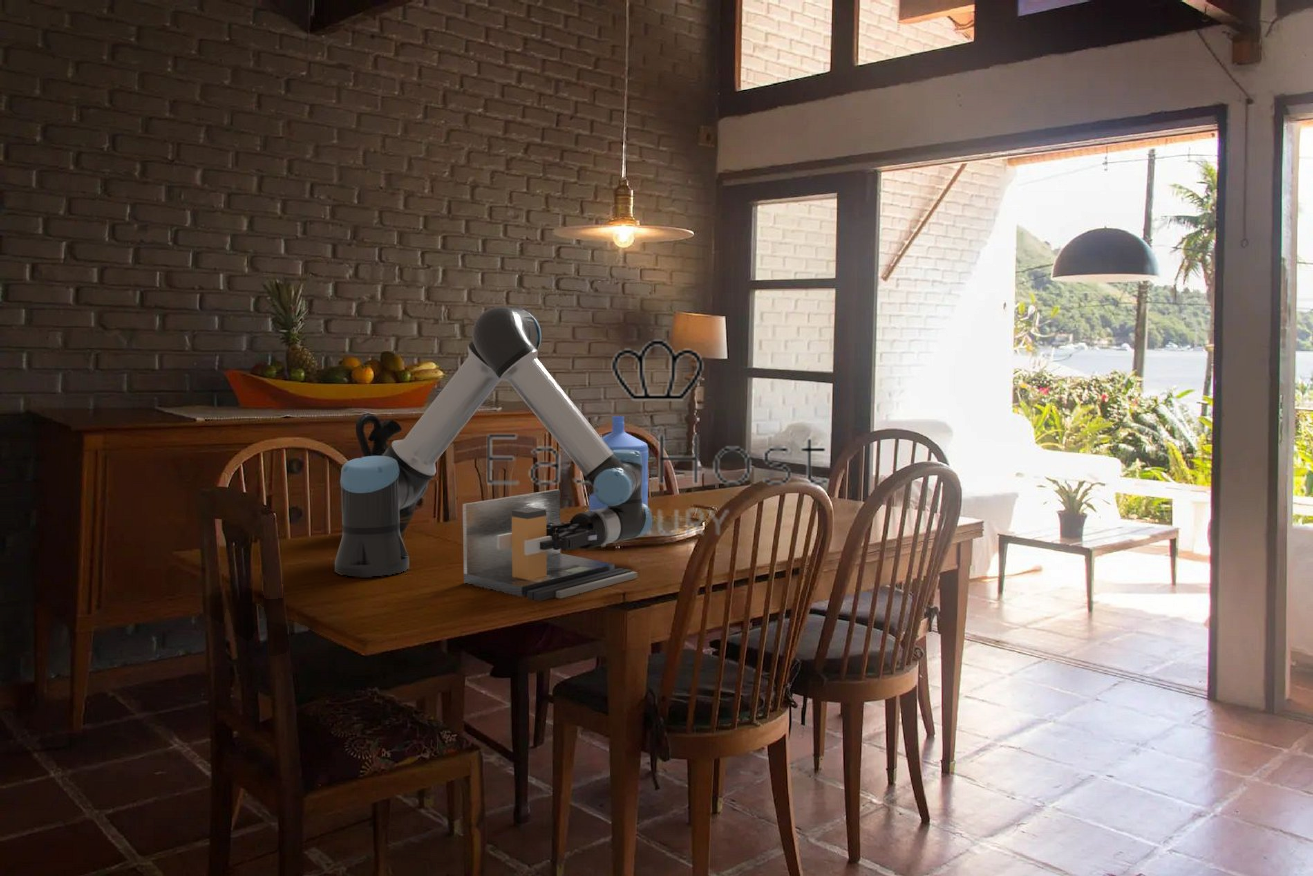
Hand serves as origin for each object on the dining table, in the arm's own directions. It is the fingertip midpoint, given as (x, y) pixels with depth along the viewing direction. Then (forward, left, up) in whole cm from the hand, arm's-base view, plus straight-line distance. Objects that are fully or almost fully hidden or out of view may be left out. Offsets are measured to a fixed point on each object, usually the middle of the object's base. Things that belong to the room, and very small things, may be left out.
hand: (511, 545), depth 205 cm
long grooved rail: (+12, -7, -9) cm, 17 cm away
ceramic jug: (+5, +68, -9) cm, 69 cm away
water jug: (+61, +45, -9) cm, 76 cm away
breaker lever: (+5, +1, -7) cm, 8 cm away
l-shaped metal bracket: (+10, +5, -9) cm, 15 cm away
